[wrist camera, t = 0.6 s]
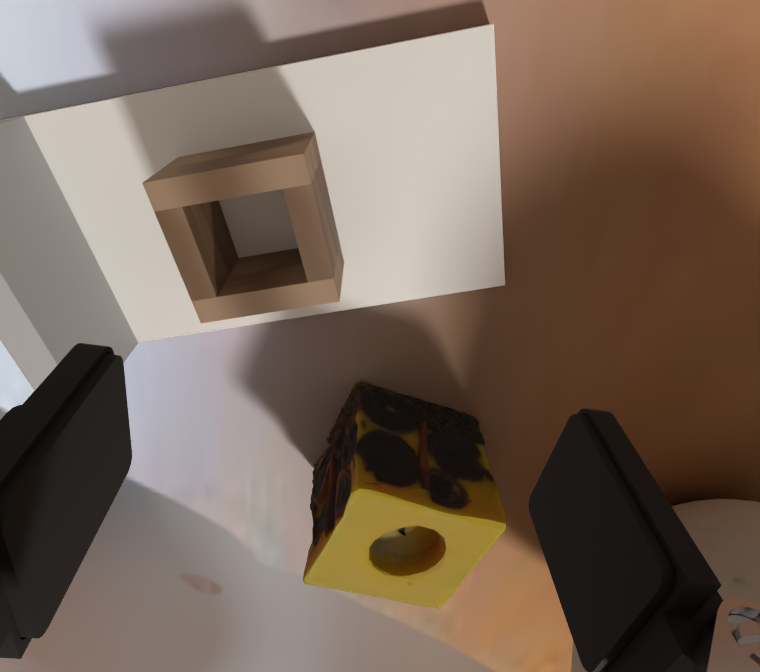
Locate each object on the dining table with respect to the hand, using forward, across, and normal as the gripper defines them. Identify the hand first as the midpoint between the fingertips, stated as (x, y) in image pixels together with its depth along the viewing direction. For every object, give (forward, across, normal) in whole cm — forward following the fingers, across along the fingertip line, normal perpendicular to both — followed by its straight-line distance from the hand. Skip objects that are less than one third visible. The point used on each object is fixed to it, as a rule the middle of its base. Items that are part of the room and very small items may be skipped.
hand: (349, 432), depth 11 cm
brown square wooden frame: (+20, +5, +3) cm, 21 cm away
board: (+21, +4, +3) cm, 22 cm away
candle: (+22, -6, +20) cm, 30 cm away
